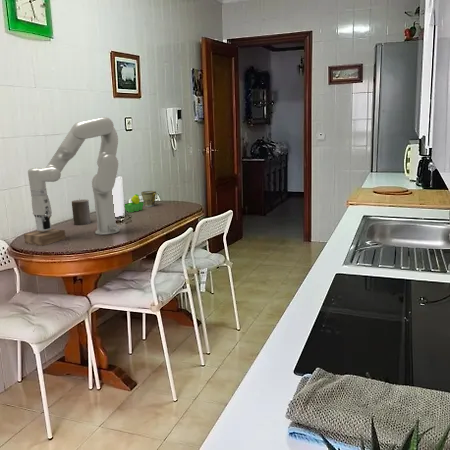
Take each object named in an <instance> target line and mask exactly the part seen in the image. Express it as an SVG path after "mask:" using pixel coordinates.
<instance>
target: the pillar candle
mask: <svg viewBox="0 0 450 450" xmlns="http://www.w3.org/2000/svg"><path fill="white" fill-rule="evenodd" d="M71 209H72V217H73V225H74V226H75V225H76V226H84V225H89V224H91V223H92V222H91V220H92V219H91V211H90V203H89V199H80V198H79V199H75V200H72V201H71Z"/></svg>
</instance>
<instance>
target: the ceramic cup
mask: <svg viewBox="0 0 450 450" xmlns="http://www.w3.org/2000/svg"><path fill="white" fill-rule="evenodd" d="M140 193H141V198H142V201H143V206H144V207H145V208H152V207H155V204H156V203H155V202H156V199H157V198H158V193H157V191H156V190H144V191H141V192H140Z"/></svg>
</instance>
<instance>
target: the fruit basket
mask: <svg viewBox="0 0 450 450" xmlns="http://www.w3.org/2000/svg"><path fill="white" fill-rule="evenodd" d="M140 200H141V199H140V197H139V194H138V193H137V194H134V195H133V196H132V197H131V199H130V201H131V202H129V203H124V204H125V206H124V209H125V211H128V212H127V213H131V212H132V213H135V212H134V211H136V212H140V211H139V210H141V211H143V207H144V202H142V201H140Z"/></svg>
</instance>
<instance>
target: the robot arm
mask: <svg viewBox="0 0 450 450" xmlns="http://www.w3.org/2000/svg"><path fill="white" fill-rule="evenodd" d="M98 137H100V140H101V141H100V148H99V152H98V157H97V160H96V165H97V167H98V168H97V174H95V175H94V176H93V177H92V180H91V187H92V192H93V200H94V207H95V208H94V209H95V217H96V224H97V229H96V230H95V233H94V234H96V235H99V236H100V235H101V236H102V235H103V236H106V235H113V234H116V233H119V232H120V228H121V227H120V226H118V223H116V218H115V213H114V204H113V195H112V190H114V189H113V188H114V187H115V183H116V180H117V174H118V171H119V160H118V158H117V152H118V145H119V136H118V131H116V128H115V127H114V122H113V120H112V119H111V118H109V117H107V116H106V117H105V116H102V117H99V118H95V119H90V120H85V121H78V122H75V123H74V124H73V125H72V126H71V128H70V129H69V131H68V133H67V134H66V136H65V137H64V139H63V141H62V142H61V143H60V145H59V147H57V150H56V151H55V153H54V155H53V156H52V157H51V159H50V160H49V162H48V163H47V165H46V167H45V168H42V167H35V168H29V169H28V170H27V176H28V181H29V182H28V183H29V190H30V195H31V196H30V197H31V208H32V215H33V216H34V218H35V217H38V216H43V220H44V222H43V224H44V229H49V228H50V223H51V217H52V207H51V205H52V204H51V201H50V199H49V195H48V192H47V190H48V189H47V185H46V184H47V183H49V182H50V183H54V182H57V181H59V180H60V179H61V177H62V173H61V172H62V171H63V169H64V168H65V166H66V165H67V163H69V161H70V160H72V159H73V158H74V157H75V156H76V154H77V153H78V151H79V150H80V149H81V146H83V144H84V142H85V141H86V140H88V139H92V138H98ZM45 216H46V218H45ZM49 221H50V222H49Z"/></svg>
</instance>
